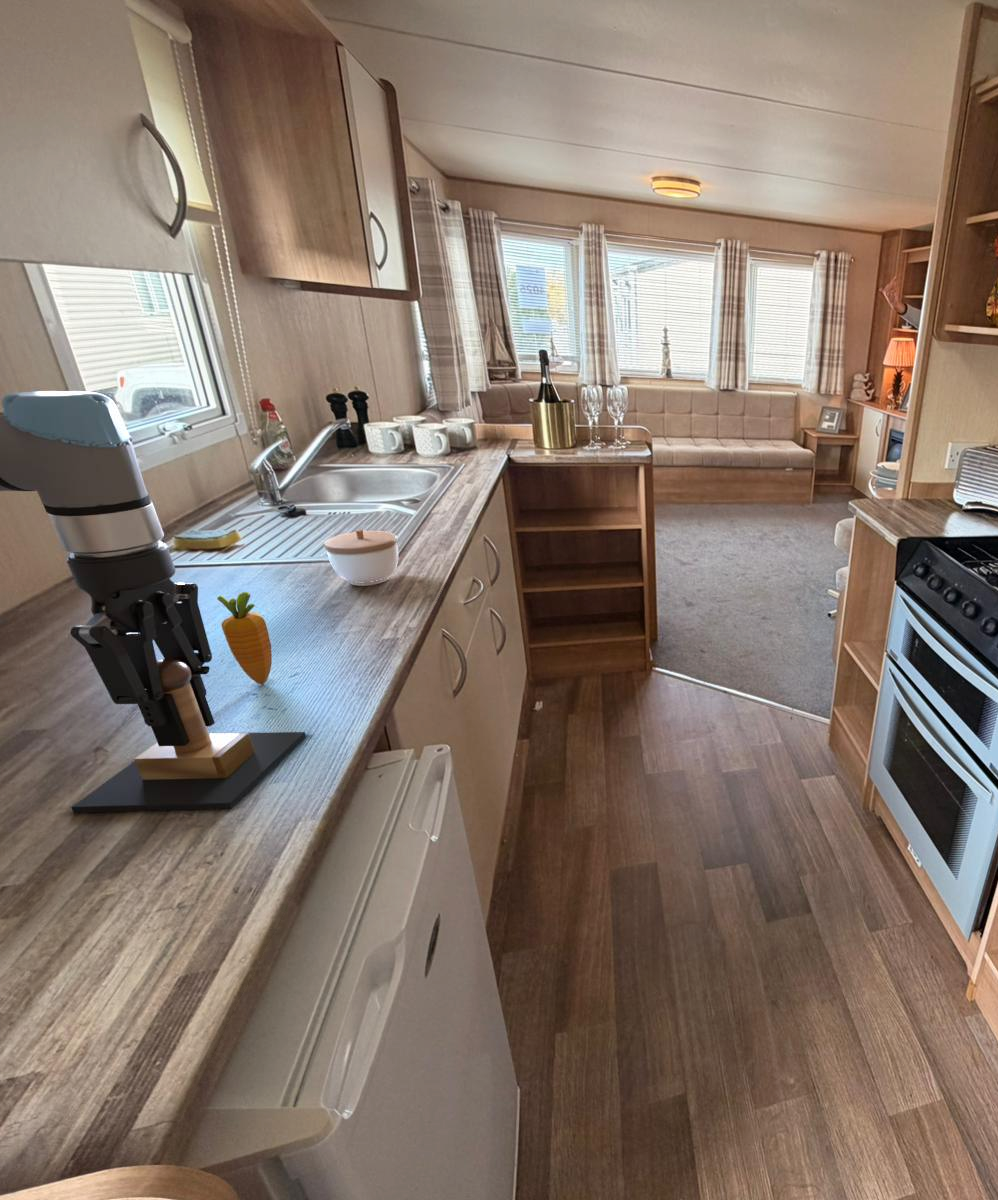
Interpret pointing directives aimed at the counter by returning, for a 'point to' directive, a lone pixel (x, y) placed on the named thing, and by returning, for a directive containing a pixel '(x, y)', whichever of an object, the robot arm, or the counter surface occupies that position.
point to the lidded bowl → (363, 556)
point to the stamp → (192, 737)
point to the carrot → (248, 638)
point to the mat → (191, 782)
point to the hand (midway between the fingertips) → (187, 733)
